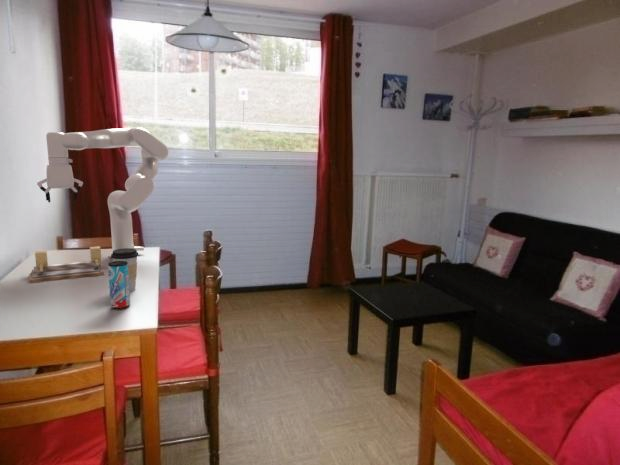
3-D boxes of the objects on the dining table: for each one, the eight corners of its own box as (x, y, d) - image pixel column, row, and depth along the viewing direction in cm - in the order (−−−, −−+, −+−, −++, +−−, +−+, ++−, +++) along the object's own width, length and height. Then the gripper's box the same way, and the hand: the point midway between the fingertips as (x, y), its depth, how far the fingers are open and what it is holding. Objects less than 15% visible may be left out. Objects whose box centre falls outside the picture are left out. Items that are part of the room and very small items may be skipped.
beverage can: (108, 306, 145) (105, 262, 142) (126, 302, 149) (123, 260, 147) (115, 311, 141) (112, 266, 138) (133, 307, 145) (130, 263, 142)
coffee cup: (123, 295, 156) (121, 254, 153) (107, 290, 161) (104, 251, 158) (145, 289, 164) (143, 250, 161) (129, 284, 169) (127, 246, 166)
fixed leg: (101, 261, 193) (99, 246, 191) (102, 267, 184) (101, 251, 182) (90, 262, 191) (89, 247, 190) (92, 268, 182) (91, 252, 181)
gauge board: (101, 265, 195) (100, 258, 194) (103, 274, 181) (103, 267, 181) (32, 272, 182) (31, 265, 182) (29, 282, 169) (28, 274, 168)
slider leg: (48, 266, 183) (46, 250, 182) (47, 272, 174) (45, 255, 173) (37, 267, 181) (35, 251, 180) (35, 273, 172) (34, 256, 171)
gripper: (81, 161, 195) (84, 200, 198) (35, 161, 186) (39, 201, 189) (81, 162, 188) (84, 201, 191) (34, 162, 180) (38, 203, 183)
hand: (62, 201), depth 190 cm, fingers open, 9 cm apart
